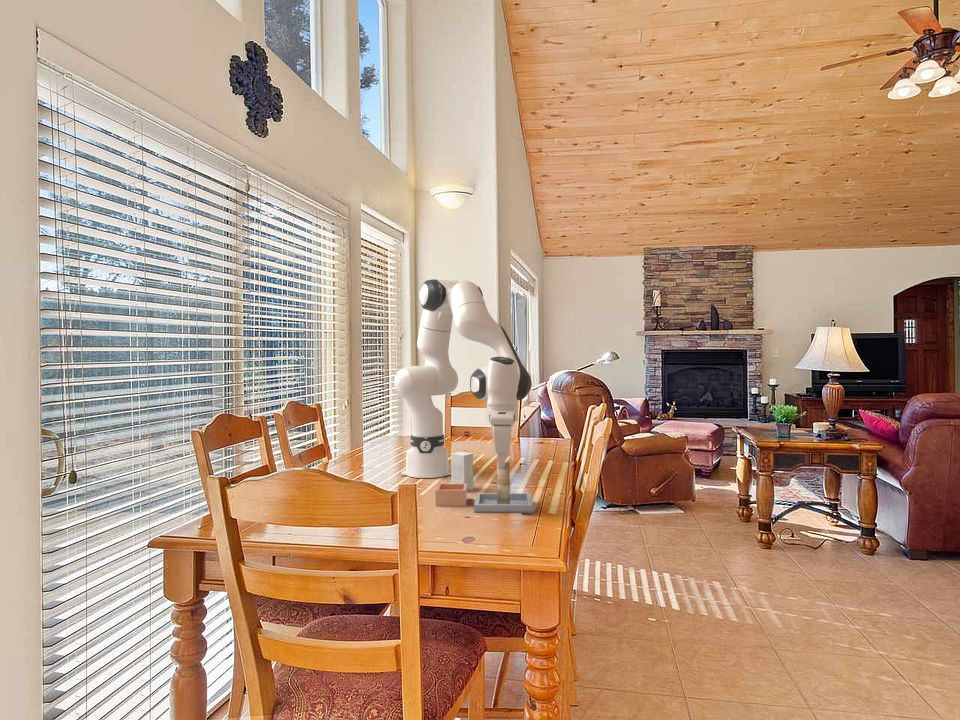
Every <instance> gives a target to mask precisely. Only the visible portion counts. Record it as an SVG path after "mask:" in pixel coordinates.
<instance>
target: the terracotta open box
mask: <svg viewBox="0 0 960 720" xmlns="http://www.w3.org/2000/svg"><path fill="white" fill-rule="evenodd" d="M468 497H469V496H468V492H467V484H452V483H438V484H437V486H436V488H435V507H466V506H467V503H468Z"/></svg>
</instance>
